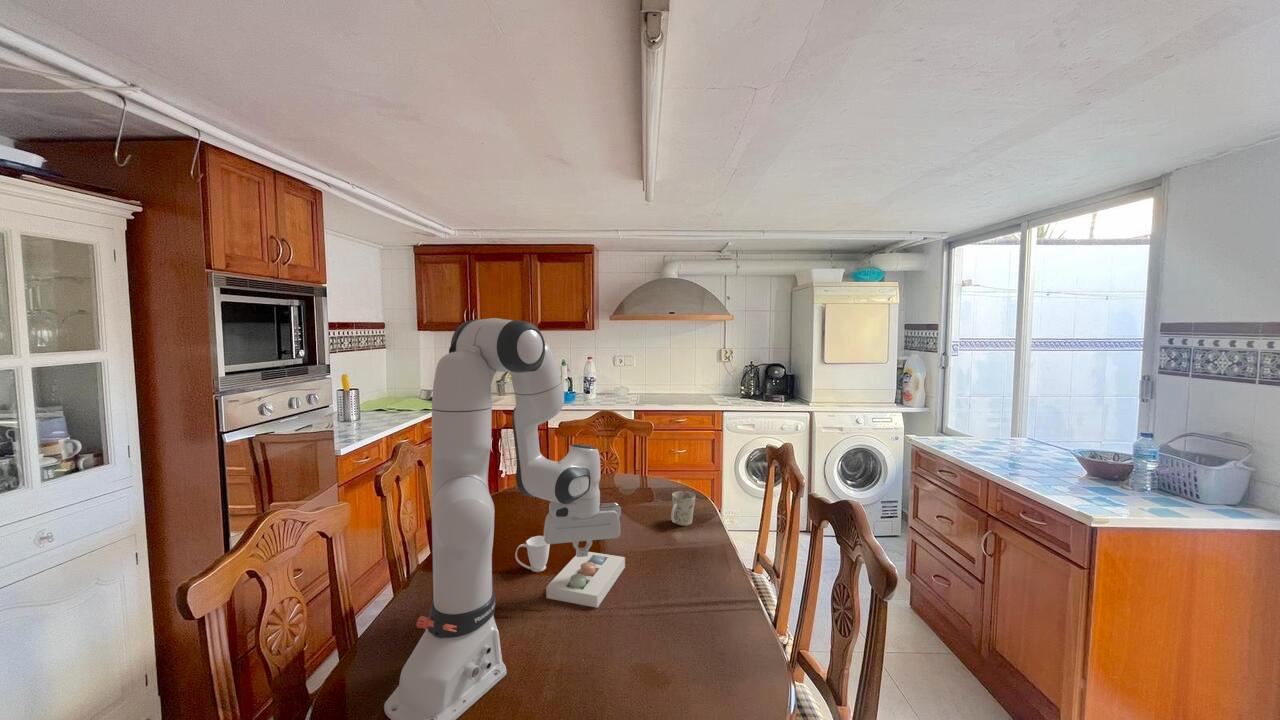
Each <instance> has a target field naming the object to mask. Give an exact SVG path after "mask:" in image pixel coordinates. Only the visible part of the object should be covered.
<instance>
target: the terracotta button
mask: <svg viewBox="0 0 1280 720" xmlns="http://www.w3.org/2000/svg"><path fill="white" fill-rule="evenodd" d="M581 574H583V575H585V576H591V577H593V576H594V575H595V564H594V563H592V562H585V563H583V564H581Z"/></svg>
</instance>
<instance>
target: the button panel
mask: <svg viewBox="0 0 1280 720" xmlns="http://www.w3.org/2000/svg"><path fill="white" fill-rule="evenodd" d="M593 556H603V557H604V563H603V564H602V565H598V564H595V575H594V576H593V577H591V576H586V586H585V587H584V589H583V590H581V589H576V588H570V577H571V576H572V575H574V574H581V564H583V563H585V562H590V558H591V557H593ZM625 568H626V557H625V556H621V555H620V556H619V555H611V554H607V553H606V554H605V553H599V552H593V551H588V556H585V557H577V556H576V555H575V556H573V558H571V560H570V561H569V562H567V564H566V565H565V566H564V567H563V568H562V570H561V571H559V573H558V574H556V576H555V577H554V578H553V579H552V580H551V581H550V582H549V583H548V584H547V585H546V589H545V590H546V597H545V598H546V599H547V600H548V599H550V600H555V601H559V602H564V603H571V604H576V605H581V606H586V607H592V608H599V606H600V605H601V603H602V601H603V600H604V599H605V598H606V596H607V594H608V593H609V591H611V588H612V587H613V586H614V584H615V583H616V581H617V580H618V578H619V576H620V575H621V574H622V572H623V571H624V569H625Z"/></svg>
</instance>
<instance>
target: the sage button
mask: <svg viewBox="0 0 1280 720" xmlns="http://www.w3.org/2000/svg"><path fill="white" fill-rule="evenodd" d="M585 586H586V576H585V575H583V574H574V575H572V576H571V577H570V588H576V589H581V590H583V589H584V587H585Z"/></svg>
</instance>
